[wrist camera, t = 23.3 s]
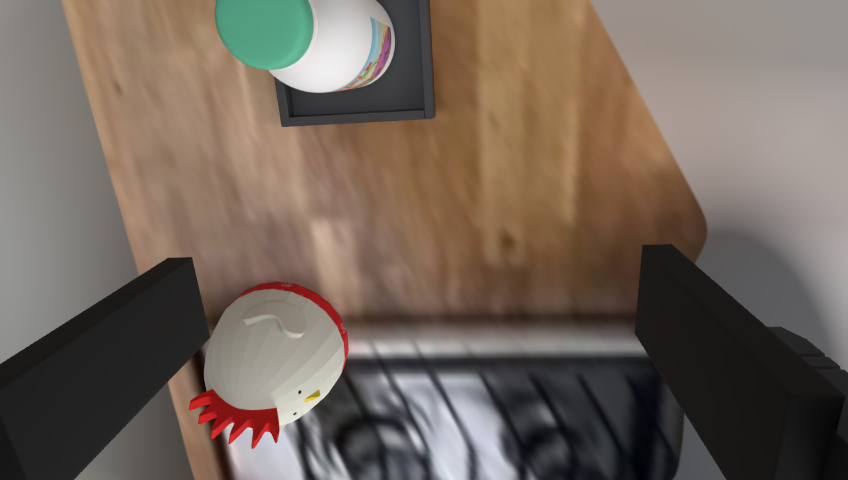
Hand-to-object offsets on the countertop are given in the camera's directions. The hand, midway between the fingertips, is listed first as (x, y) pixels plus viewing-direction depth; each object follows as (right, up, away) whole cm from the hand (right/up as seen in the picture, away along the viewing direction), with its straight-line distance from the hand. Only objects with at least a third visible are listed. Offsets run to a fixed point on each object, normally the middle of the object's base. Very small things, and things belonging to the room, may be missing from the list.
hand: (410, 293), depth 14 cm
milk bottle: (-6, +19, +28) cm, 34 cm away
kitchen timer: (-15, -9, +39) cm, 43 cm away
